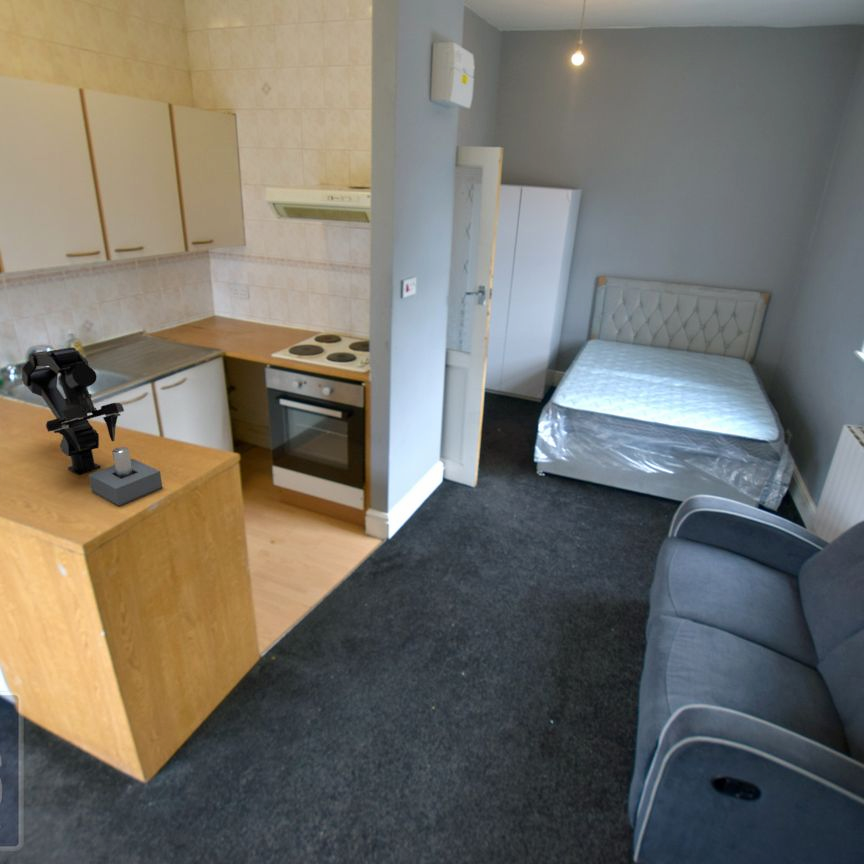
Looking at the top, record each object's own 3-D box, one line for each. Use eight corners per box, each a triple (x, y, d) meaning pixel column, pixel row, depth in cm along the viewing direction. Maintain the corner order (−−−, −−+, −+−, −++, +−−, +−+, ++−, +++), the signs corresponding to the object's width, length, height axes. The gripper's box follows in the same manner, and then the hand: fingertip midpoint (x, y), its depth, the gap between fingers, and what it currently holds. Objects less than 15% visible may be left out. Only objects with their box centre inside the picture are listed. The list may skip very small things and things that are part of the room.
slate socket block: (91, 492, 161) (88, 474, 159) (135, 475, 171) (132, 458, 169) (119, 506, 155) (115, 488, 152) (162, 488, 165) (160, 471, 163)
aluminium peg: (116, 491, 161) (109, 452, 156) (123, 484, 164) (116, 446, 160) (130, 492, 161) (124, 453, 156) (137, 485, 164) (131, 447, 160)
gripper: (26, 403, 150) (48, 459, 152) (100, 382, 154) (121, 438, 155) (46, 402, 161) (66, 454, 163) (115, 383, 164) (133, 435, 166)
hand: (96, 446), depth 162 cm, fingers open, 9 cm apart
